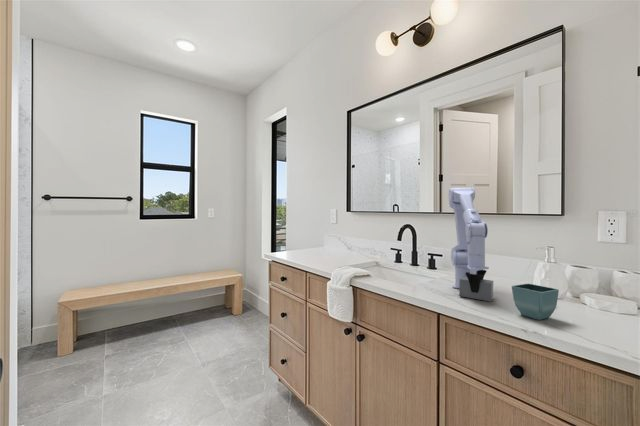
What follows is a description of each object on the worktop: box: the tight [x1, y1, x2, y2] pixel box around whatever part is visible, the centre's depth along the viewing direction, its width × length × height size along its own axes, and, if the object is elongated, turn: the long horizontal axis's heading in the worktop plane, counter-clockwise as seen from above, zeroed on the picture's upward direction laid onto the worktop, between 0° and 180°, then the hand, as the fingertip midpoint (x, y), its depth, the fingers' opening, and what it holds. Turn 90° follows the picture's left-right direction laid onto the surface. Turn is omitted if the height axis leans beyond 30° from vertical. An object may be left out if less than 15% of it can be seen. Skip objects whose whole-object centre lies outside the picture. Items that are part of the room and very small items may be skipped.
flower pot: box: [511, 283, 560, 321], centre depth 86 cm, size 9×9×9 cm
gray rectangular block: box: [458, 277, 494, 302], centre depth 106 cm, size 6×10×6 cm, turn 53°
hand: (476, 290), depth 106 cm, fingers closed on gray rectangular block, 6 cm apart
